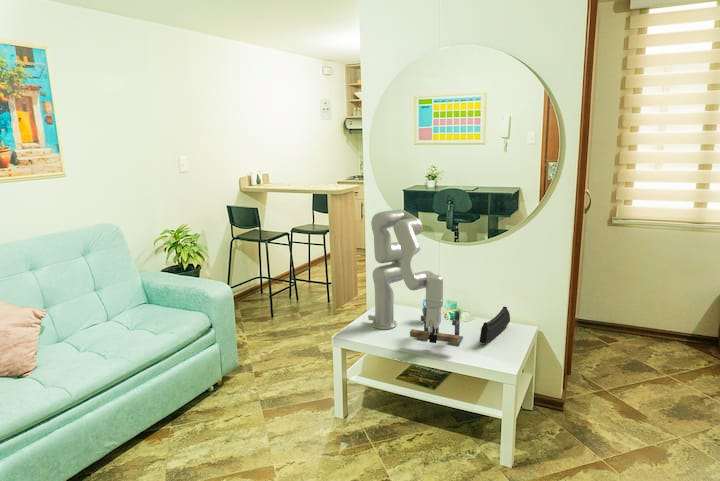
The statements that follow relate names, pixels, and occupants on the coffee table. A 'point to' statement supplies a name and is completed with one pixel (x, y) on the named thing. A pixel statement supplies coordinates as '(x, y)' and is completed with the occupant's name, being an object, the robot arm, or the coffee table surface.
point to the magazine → (494, 326)
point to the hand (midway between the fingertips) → (434, 340)
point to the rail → (439, 335)
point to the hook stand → (454, 322)
